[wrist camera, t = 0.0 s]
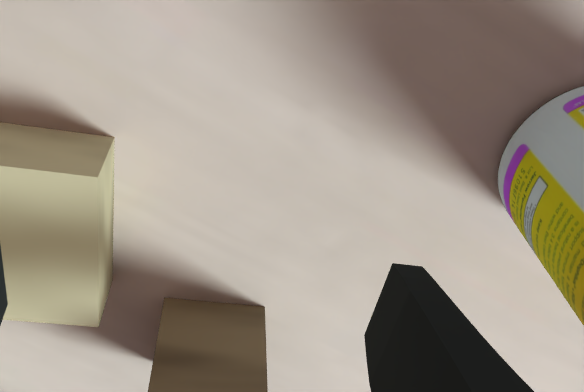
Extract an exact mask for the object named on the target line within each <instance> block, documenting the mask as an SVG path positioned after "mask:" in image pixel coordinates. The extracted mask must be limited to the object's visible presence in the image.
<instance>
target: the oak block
mask: <svg viewBox="0 0 584 392" xmlns="http://www.w3.org/2000/svg"><path fill="white" fill-rule="evenodd" d="M113 204H114V137H108V136H100V135H93V134H85V133H78V132H70V131H63V130H55V129H47V128H40V127H32V126H25V125H17V124H10V123H2V122H0V245H1V253H2V261H3V269H4V277H5V285H6V293H7V301H8V305H7V308H6V311H5V314H4V317H3V320H13V321H26V322H39V323H52V324H65V325H77V326H90V327H99V324H100V321H101V318H102V314H103V311H104V307H105V304H106V300H107V297H108V294H109V290H110V287H111V283H112V275H113Z"/></svg>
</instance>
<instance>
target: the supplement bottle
mask: <svg viewBox="0 0 584 392" xmlns="http://www.w3.org/2000/svg"><path fill="white" fill-rule="evenodd" d="M498 188H499V193H500V196H501V200H502V202H503V205H504V207H505V209H506V211H507V212H508V214H509V215H510V217H511V218H512V220H513V221H514V223H515V224H516V226H517V227H518V229H519V230H520V232H521V233H522V235H523V236H524V238H525V239H526V241H527V242H528V244H529V245H530V247H531V248H532V250H533V251H534V253H535V254H536V256H537V257H538V259H539V260H540V262H541V263H542V265H543V266H544V268H545V269H546V270H547V272H548V273H549V275H550V276H551V278H552V279H553V281H554V282H555V284H556V285H557V287H558V288H559V290H560V291H561V293H562V294H563V296H564V298H565V299H566V300H567V302H568V303H569V305H570V306H571V308H572V309H573V310H574V312H575V313H576V315H577V316H578V318H579V319H580V321H581V322H582V324H583V325H584V86H583V87H579V88H576V89H574V90H571V91H568V92H566V93H564V94H562V95H560V96H558V97H556V98H554V99H552V100H551V101H549V102H548V103H546V104H545V105H543V106H542V107H540V108H539V109H538V110H537V111H535V112H534V113H533V114H532V115H531V116H530V117H529V118H528V119H526V121H525V122H524V123H523V124H522V125H521V126H520V127H519V128H518V130H517V131H516V132H515V133H514V135H513V136H512V138H511V139H510V141H509V143H508V145H507V146H506V149H505V151H504V153H503V155H502V158H501V162H500V166H499V171H498Z"/></svg>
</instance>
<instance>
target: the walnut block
mask: <svg viewBox="0 0 584 392" xmlns="http://www.w3.org/2000/svg"><path fill="white" fill-rule="evenodd" d="M148 392H267V362H266V331H265V307H263V306H252V305H241V304H230V303H219V302H208V301H197V300H186V299H175V298H164V303H163V308H162V314H161V320H160V326H159V331H158V337H157V343H156V348H155V354H154V360H153V365H152V371H151V377H150V382H149V388H148Z"/></svg>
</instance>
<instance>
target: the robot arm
mask: <svg viewBox="0 0 584 392" xmlns="http://www.w3.org/2000/svg"><path fill="white" fill-rule="evenodd" d="M7 305H8V301H7V293H6V285H5V277H4V269H3V261H2V253H1V245H0V325H1V322H2V320H3V317H4V314H5V311H6V308H7ZM364 336H365V346H366V357H367V366H368V375H369V383H370V388H371V392H534V391H533V390H532V389H531V388H530V387H529V386H528V385H527V384H526V383H525V382H524V381H523V380H522V379H521V378H520V377H519V376H518V375H517V374H516V373H515V371H514V370H513V369H512V368H511V367H510V366H509V365H508V364H507V363H506V362H505V361H504V360H503V359H502V357H501V356H500V355H499V354H498V353H497V352H496V351H495V350H494V349H493V348H492V346H491V345H490V344H489V343H488V342H487V341H486V340H485V339H484V337H483V336H482V335H481V334H480V333H479V332H478V331H477V329H476V328H475V327H474V326H473V325H472V324H471V323H470V321H469V320H468V319H467V318H466V317H465V316H464V314H463V313H462V312H461V311H460V310H459V308H458V307H457V306H456V305H455V304H454V303H453V301H452V300H451V299H450V298H449V297H448V296H447V294H446V293H445V292H444V291H443V290H442V288H441V287H440V286H439V285H438V284H437V283H436V281H435V280H434V279H433V278H432V277H431V276H430V275H429V273H428V272H427V271H426V270H425V269H424V268H423V267H421V266H412V265H403V264H394V263H393V264H392V266H391V269H390V271H389V274H388V276H387V279H386V281H385V284H384V287H383V289H382V292H381V294H380V297H379V299H378V302H377V304H376V307H375V309H374V312H373V315H372V317H371V320H370V322H369V325H368V327H367V330H366V332H365V335H364Z"/></svg>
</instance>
